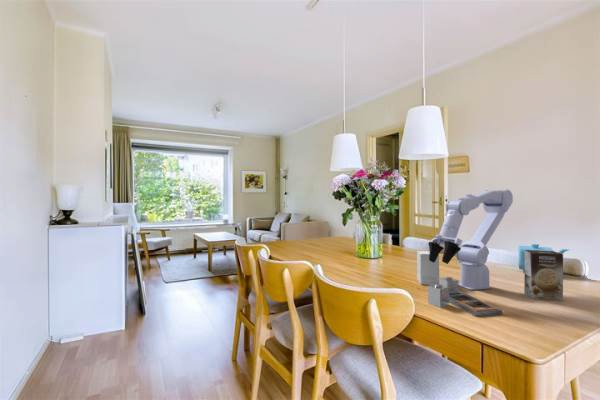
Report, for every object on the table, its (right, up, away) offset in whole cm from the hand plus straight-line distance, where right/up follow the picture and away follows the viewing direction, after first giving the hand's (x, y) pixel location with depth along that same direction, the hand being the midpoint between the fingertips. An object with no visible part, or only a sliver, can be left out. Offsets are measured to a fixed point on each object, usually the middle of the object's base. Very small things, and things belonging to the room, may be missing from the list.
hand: (437, 262), depth 108 cm
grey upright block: (-4, -12, -9) cm, 16 cm away
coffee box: (+35, -12, -5) cm, 37 cm away
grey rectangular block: (+4, -12, -1) cm, 13 cm away
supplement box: (+3, -12, +15) cm, 20 cm away
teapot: (+61, -11, +27) cm, 67 cm away
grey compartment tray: (+5, -12, -8) cm, 15 cm away
